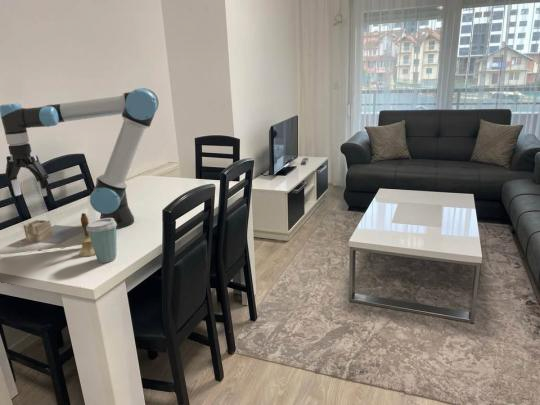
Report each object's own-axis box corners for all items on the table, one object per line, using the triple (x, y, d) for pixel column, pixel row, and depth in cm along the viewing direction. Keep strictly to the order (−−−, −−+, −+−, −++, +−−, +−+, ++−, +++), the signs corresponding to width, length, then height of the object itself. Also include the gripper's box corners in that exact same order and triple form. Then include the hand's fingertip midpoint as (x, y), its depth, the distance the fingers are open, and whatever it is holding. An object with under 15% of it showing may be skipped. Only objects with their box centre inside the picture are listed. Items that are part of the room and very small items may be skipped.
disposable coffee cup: (90, 267, 152) (82, 228, 147) (93, 255, 162) (86, 218, 157) (121, 262, 154) (115, 223, 150) (122, 251, 164) (116, 214, 160)
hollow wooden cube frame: (53, 236, 181) (49, 219, 178) (40, 242, 174) (36, 225, 172) (40, 234, 183) (36, 219, 181) (27, 241, 176) (23, 224, 174)
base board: (91, 230, 189) (90, 227, 188) (58, 247, 172) (58, 244, 171) (55, 228, 195) (55, 225, 195) (21, 243, 178) (20, 240, 177)
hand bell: (75, 253, 165) (68, 214, 161) (96, 246, 171) (89, 208, 166) (84, 258, 159) (76, 218, 155) (105, 251, 165) (98, 213, 160)
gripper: (51, 142, 166) (62, 193, 172) (3, 142, 174) (15, 192, 180) (35, 145, 159) (47, 199, 166) (-14, 145, 167) (0, 197, 174)
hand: (31, 195), depth 173 cm, fingers open, 13 cm apart
